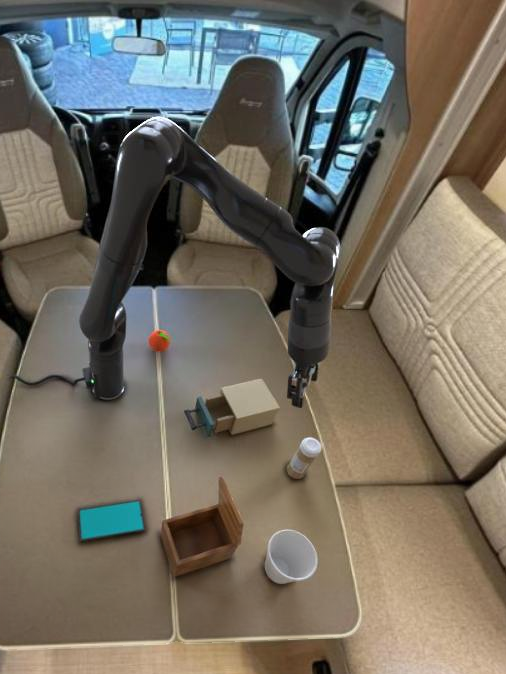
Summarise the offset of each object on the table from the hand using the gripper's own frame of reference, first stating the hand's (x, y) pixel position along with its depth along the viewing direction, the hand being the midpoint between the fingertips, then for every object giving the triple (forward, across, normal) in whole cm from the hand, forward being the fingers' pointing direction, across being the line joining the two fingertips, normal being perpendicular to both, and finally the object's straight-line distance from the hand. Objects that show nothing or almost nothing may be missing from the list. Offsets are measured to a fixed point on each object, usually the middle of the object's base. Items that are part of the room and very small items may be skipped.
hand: (304, 392), depth 90 cm
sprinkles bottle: (+28, +2, 0) cm, 28 cm away
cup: (+29, +27, +5) cm, 40 cm away
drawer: (+21, +1, -24) cm, 32 cm away
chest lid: (+9, +29, -4) cm, 31 cm away
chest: (+24, +33, -12) cm, 43 cm away
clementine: (+15, -14, -51) cm, 55 cm away
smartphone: (+19, +40, -30) cm, 53 cm away
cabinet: (+24, -6, -19) cm, 31 cm away
